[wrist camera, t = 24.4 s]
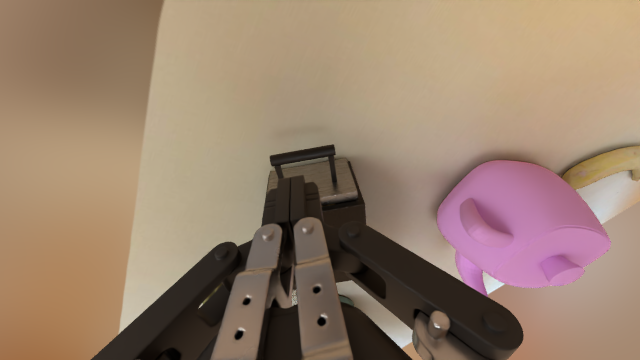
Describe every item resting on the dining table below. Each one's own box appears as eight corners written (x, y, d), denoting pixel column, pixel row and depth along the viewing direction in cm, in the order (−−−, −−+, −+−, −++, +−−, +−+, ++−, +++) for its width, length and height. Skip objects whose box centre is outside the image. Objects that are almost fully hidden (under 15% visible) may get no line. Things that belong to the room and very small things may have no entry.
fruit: (574, 146, 35) (597, 157, 33) (668, 139, 36) (698, 149, 33) (548, 184, 40) (566, 197, 37) (633, 177, 40) (657, 189, 38)
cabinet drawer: (259, 139, 29) (250, 172, 23) (342, 124, 29) (354, 153, 23) (292, 236, 40) (291, 275, 34) (352, 226, 40) (362, 263, 34)
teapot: (466, 127, 32) (572, 200, 20) (561, 172, 38) (687, 249, 26) (377, 236, 43) (409, 324, 31) (462, 257, 50) (516, 337, 38)
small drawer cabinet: (268, 175, 34) (261, 221, 26) (349, 161, 33) (365, 203, 26) (291, 241, 42) (291, 290, 35) (356, 230, 42) (369, 277, 35)
